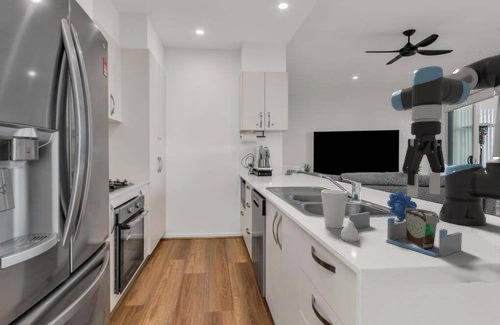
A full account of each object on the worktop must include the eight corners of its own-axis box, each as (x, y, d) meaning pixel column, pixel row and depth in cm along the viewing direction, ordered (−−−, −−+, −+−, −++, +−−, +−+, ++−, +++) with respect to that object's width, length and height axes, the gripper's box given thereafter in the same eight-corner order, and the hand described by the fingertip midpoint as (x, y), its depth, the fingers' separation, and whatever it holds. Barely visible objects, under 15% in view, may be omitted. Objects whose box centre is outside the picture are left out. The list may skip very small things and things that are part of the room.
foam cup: (321, 228, 101) (321, 192, 101) (320, 221, 110) (321, 189, 110) (348, 229, 99) (349, 193, 98) (345, 223, 108) (346, 190, 107)
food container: (449, 252, 77) (450, 216, 77) (426, 252, 77) (427, 216, 77) (423, 238, 89) (424, 207, 89) (403, 238, 90) (404, 207, 89)
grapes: (382, 219, 114) (382, 190, 114) (389, 217, 119) (390, 189, 118) (412, 225, 105) (413, 194, 105) (419, 222, 109) (420, 192, 109)
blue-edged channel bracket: (367, 225, 106) (367, 206, 105) (461, 250, 79) (462, 226, 78) (345, 229, 100) (345, 209, 99) (438, 258, 73) (439, 231, 72)
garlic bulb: (362, 222, 86) (347, 223, 85) (362, 241, 86) (346, 243, 85) (352, 218, 91) (337, 219, 90) (352, 236, 91) (337, 237, 90)
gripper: (433, 124, 91) (431, 191, 92) (389, 120, 79) (387, 196, 80) (460, 122, 84) (457, 194, 85) (416, 117, 73) (413, 200, 74)
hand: (423, 195), depth 83 cm, fingers open, 11 cm apart
